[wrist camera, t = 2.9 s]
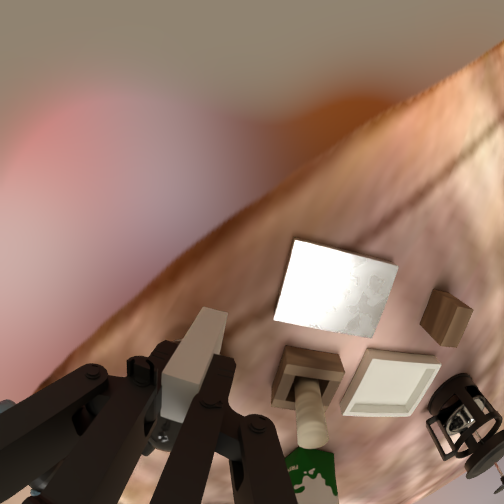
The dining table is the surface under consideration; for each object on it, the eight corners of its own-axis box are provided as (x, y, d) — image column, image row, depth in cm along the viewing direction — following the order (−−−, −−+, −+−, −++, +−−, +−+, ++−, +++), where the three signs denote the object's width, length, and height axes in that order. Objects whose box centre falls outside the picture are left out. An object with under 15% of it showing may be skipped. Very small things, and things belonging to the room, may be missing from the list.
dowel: (290, 378, 33) (293, 447, 22) (297, 361, 33) (303, 430, 21) (311, 381, 33) (321, 449, 22) (319, 364, 33) (333, 432, 21)
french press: (474, 361, 31) (546, 445, 9) (472, 395, 32) (526, 473, 10) (418, 396, 33) (474, 503, 10) (420, 426, 34) (462, 520, 12)
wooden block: (419, 324, 30) (440, 346, 25) (433, 289, 29) (457, 306, 23) (435, 326, 30) (456, 347, 24) (448, 292, 29) (473, 309, 23)
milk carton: (311, 473, 38) (315, 558, 19) (270, 463, 38) (264, 556, 18) (341, 451, 36) (356, 544, 17) (298, 440, 36) (302, 545, 17)
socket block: (271, 386, 34) (271, 406, 30) (285, 345, 32) (286, 363, 28) (320, 394, 34) (324, 413, 30) (338, 354, 32) (345, 372, 28)
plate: (274, 310, 32) (273, 319, 30) (293, 236, 30) (295, 240, 28) (366, 328, 32) (371, 338, 29) (390, 260, 30) (398, 266, 27)
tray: (339, 403, 34) (342, 415, 31) (367, 348, 32) (372, 358, 29) (404, 406, 33) (409, 416, 31) (434, 355, 31) (441, 364, 29)
